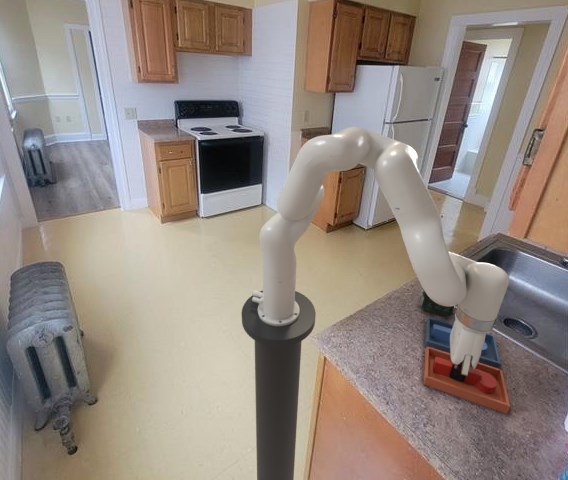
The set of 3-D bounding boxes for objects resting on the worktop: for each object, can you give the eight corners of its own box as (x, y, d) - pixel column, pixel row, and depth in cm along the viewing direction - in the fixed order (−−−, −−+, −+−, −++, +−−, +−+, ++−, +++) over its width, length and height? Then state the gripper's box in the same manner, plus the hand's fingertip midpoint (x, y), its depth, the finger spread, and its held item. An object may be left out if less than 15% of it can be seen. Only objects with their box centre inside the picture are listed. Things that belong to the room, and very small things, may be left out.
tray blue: (425, 347, 87) (426, 341, 86) (426, 323, 96) (427, 316, 95) (498, 371, 81) (501, 363, 80) (492, 342, 90) (494, 335, 89)
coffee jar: (452, 305, 103) (466, 256, 96) (452, 321, 97) (467, 269, 89) (420, 296, 107) (432, 248, 100) (418, 310, 101) (429, 260, 93)
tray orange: (423, 384, 77) (425, 377, 76) (424, 352, 86) (426, 345, 85) (506, 414, 71) (510, 406, 70) (499, 376, 79) (502, 369, 78)
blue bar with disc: (431, 340, 89) (433, 331, 88) (431, 329, 93) (433, 320, 91) (486, 357, 84) (489, 348, 83) (484, 345, 88) (487, 336, 86)
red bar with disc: (432, 376, 79) (435, 366, 77) (433, 362, 82) (435, 352, 81) (496, 396, 74) (500, 386, 72) (493, 380, 77) (497, 370, 76)
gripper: (454, 290, 79) (439, 346, 86) (458, 335, 66) (439, 396, 73) (489, 299, 76) (470, 355, 84) (500, 347, 63) (476, 410, 70)
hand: (456, 374), depth 78 cm, fingers closed on red bar with disc
